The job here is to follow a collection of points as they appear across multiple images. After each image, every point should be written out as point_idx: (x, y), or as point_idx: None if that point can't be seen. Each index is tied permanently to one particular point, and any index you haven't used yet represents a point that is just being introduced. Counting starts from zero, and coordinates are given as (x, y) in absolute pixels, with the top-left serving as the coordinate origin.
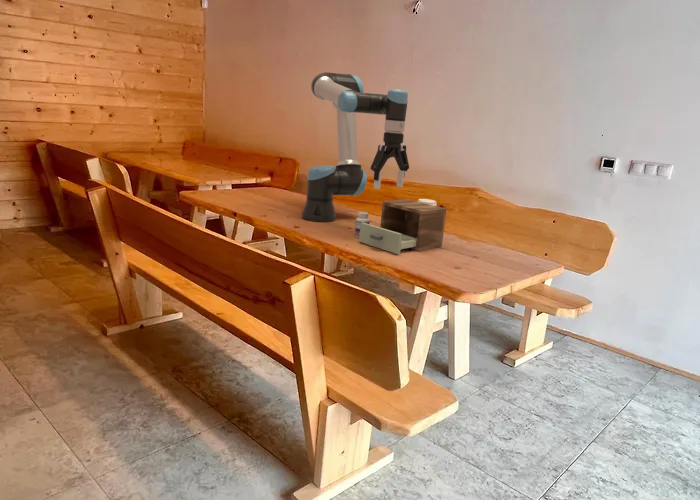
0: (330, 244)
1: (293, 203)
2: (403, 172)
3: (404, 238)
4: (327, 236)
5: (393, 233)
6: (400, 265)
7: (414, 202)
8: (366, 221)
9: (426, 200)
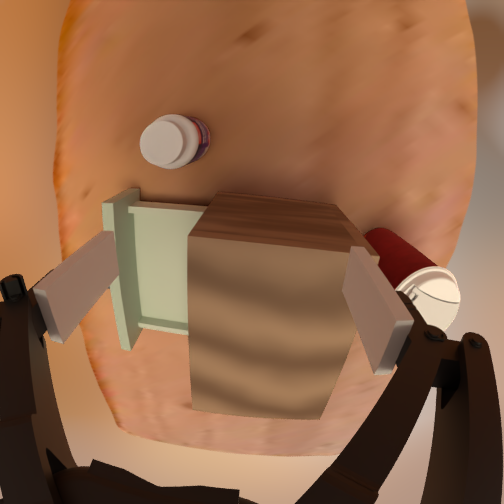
0: (59, 166)
1: None
2: (376, 365)
3: None
4: (101, 90)
5: (119, 331)
6: (104, 349)
7: (329, 324)
8: (164, 168)
9: (428, 312)
